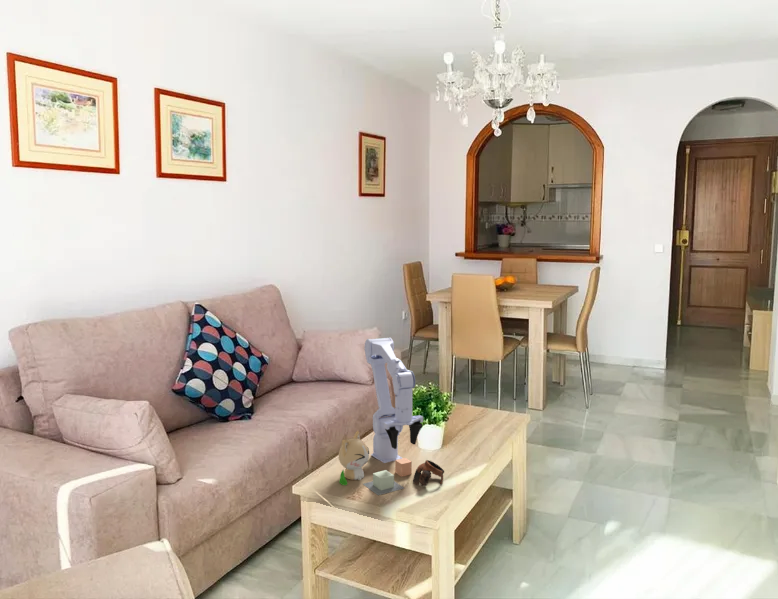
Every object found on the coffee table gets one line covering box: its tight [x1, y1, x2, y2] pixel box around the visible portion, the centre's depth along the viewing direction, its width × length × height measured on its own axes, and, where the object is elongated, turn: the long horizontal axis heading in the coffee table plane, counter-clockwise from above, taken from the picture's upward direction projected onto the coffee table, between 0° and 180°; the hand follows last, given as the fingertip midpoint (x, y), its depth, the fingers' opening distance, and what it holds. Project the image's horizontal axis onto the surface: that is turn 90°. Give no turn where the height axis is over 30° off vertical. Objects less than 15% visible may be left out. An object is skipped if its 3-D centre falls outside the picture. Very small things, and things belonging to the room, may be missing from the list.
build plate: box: [362, 480, 405, 496], centre depth 211 cm, size 10×10×1 cm
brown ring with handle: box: [412, 459, 445, 487], centre depth 213 cm, size 12×10×8 cm
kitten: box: [338, 430, 370, 486], centre depth 217 cm, size 15×10×15 cm
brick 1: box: [372, 469, 395, 490], centre depth 211 cm, size 5×5×4 cm
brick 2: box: [394, 457, 413, 478], centre depth 221 cm, size 4×4×5 cm
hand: (403, 445), depth 220 cm, fingers open, 7 cm apart
